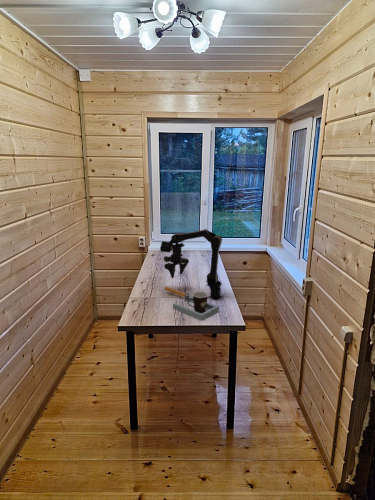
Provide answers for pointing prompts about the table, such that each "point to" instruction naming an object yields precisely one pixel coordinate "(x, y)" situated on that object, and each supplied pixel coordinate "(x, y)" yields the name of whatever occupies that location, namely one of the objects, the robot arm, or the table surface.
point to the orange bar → (177, 292)
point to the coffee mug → (199, 301)
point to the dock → (195, 314)
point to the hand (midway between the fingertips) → (176, 276)
